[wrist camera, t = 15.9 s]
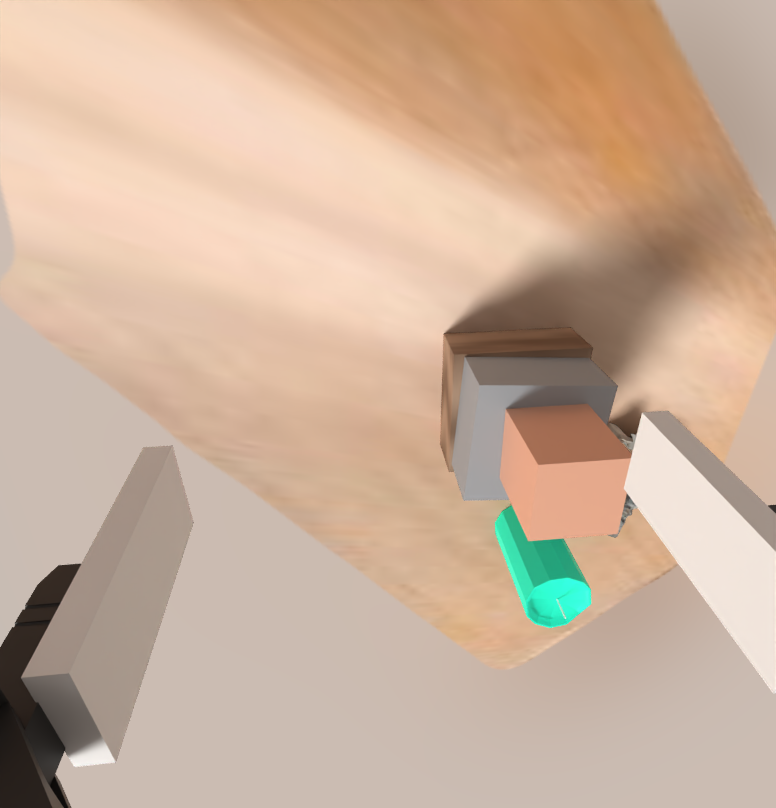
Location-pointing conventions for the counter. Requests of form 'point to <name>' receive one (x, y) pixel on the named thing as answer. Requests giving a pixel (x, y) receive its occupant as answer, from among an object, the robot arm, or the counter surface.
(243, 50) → the counter surface
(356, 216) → the counter surface
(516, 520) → the candle
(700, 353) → the counter surface
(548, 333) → the tower base
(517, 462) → the terracotta block
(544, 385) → the gray tower middle block
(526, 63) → the counter surface
